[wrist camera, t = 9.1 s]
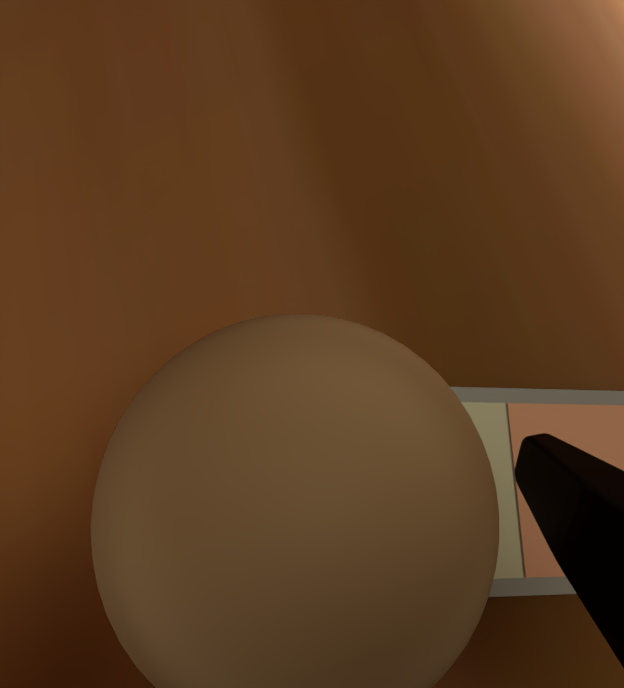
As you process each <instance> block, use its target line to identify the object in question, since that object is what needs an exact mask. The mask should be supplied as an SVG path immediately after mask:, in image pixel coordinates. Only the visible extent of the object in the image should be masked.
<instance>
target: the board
mask: <svg viewBox="0 0 624 688" xmlns="http://www.w3.org/2000/svg"><path fill="white" fill-rule="evenodd" d="M450 388H451V389H452V390H453V392H454V393H455V394H456V395H457V397H458V398H459V400H460V401H461V403H462V404H463V406H464V408H465V409H466V411H467V412H468V414H469V415H470V417H471V419H472V421H473V423H474V425H475V427H476V429H477V431H478V433H479V435H480V437H481V439H482V442H483V444H484V447H485V450H486V453H487V456H488V458H489V461H490V464H491V468H492V473H493V477H494V481H495V485H496V491H497V499H498V508H499V547H498V556H497V564H496V570H495V574H494V578H493V582H492V586H491V591H490V595H489V597H504V596H531V595H558V594H577V593H576V592H575V590H574V589H573V587H572V585H571V584H570V582H569V581H568V579H567V578H566V576H565V574H564V573H563V571H562V569H561V568H560V566H559V564H558V563H557V561H556V559H555V557H554V556H553V554H552V552H551V550H550V548H549V546H548V544H547V542H546V540H545V538H544V536H543V534H542V532H541V530H540V528H539V526H538V524H537V522H536V520H535V518H534V516H533V514H532V513H531V511H530V509H529V507H528V505H527V503H526V501H525V499H524V497H523V495H522V493H521V491H520V489H519V487H518V485H517V482H516V479H515V474H514V469H515V465H516V461H517V457H518V453H519V449H520V445H521V442H522V440H523V439H524V438H525V437H527V436H531V435H536V434H541V433H547V434H550V435H552V436H554V437H556V438H558V439H561V440H563V441H565V442H567V443H569V444H571V445H573V446H575V447H577V448H579V449H581V450H583V451H585V452H587V453H589V454H591V455H593V456H595V457H597V458H599V459H601V460H603V461H605V462H607V463H609V464H611V465H613V466H615V467H617V468H619V469H621V470H623V471H624V391H598V390H557V389H517V388H476V387H450Z"/></svg>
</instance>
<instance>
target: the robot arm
mask: <svg viewBox="0 0 624 688" xmlns="http://www.w3.org/2000/svg"><path fill="white" fill-rule="evenodd" d="M514 474H515V479H516V482H517V485H518V487H519V489H520V491H521V493H522V495H523V497H524V499H525V501H526V503H527V505H528V507H529V509H530V511H531V513H532V514H533V516H534V518H535V520H536V522H537V524H538V526H539V528H540V530H541V532H542V534H543V536H544V538H545V540H546V542H547V544H548V546H549V548H550V550H551V552H552V554H553V556H554V557H555V559H556V561H557V563H558V564H559V566H560V568H561V569H562V571H563V573H564V574H565V576H566V578H567V579H568V581H569V582H570V584H571V585H572V587H573V589H574V590H575V592H576V593H577V595H578V597H579V598H580V600H581V601H582V603H583V604H584V606H585V608H586V609H587V611H588V612H589V614H590V616H591V617H592V619H593V620H594V622H595V623H596V625H597V627H598V628H599V630H600V631H601V633H602V635H603V636H604V638H605V639H606V641H607V642H608V644H609V646H610V647H611V649H612V650H613V652H614V654H615V655H616V657H617V658H618V660H619V661H620V663H621V665H622V666H623V668H624V471H623V470H621V469H619V468H617V467H615V466H613V465H611V464H609V463H607V462H605V461H603V460H601V459H599V458H597V457H595V456H593V455H591V454H589V453H587V452H585V451H583V450H581V449H579V448H577V447H575V446H573V445H571V444H569V443H567V442H565V441H563V440H561V439H558V438H556V437H554V436H552V435H550V434H547V433H541V434H536V435H531V436H527V437H525V438H524V439H523V440H522V442H521V445H520V449H519V453H518V457H517V461H516V465H515V469H514Z"/></svg>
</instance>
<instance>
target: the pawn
mask: <svg viewBox="0 0 624 688" xmlns="http://www.w3.org/2000/svg"><path fill="white" fill-rule="evenodd" d="M91 547H92V560H93V566H94V571H95V577H96V582H97V587H98V590H99V593H100V596H101V600H102V603H103V606H104V609H105V612H106V615H107V617H108V619H109V621H110V623H111V625H112V627H113V629H114V631H115V634H116V636H117V638H118V640H119V642H120V644H121V645H122V646H123V648H124V649H125V651H126V652H127V654H128V655H129V657H130V658H131V660H132V661H133V663H134V664H135V666H136V667H137V668H138V669H139V671H140V672H141V673H142V674H143V675H144V676H145V677H146V678H147V679H148V680H149V681H150V682H151V684H152V685H153V686H154V687H155V688H433V686H434V685H435V684H436V683H437V682H438V681H439V680H440V679H441V678H442V677H443V676H444V674H445V673H446V672H447V671H448V670H449V669H450V668H451V667H452V665H453V664H454V662H455V661H456V660H457V658H458V657H459V655H460V654H461V652H462V651H463V650H464V648H465V647H466V645H467V644H468V642H469V640H470V638H471V636H472V634H473V632H474V630H475V628H476V627H477V625H478V623H479V621H480V618H481V616H482V613H483V610H484V608H485V605H486V603H487V600H488V597H489V595H490V591H491V586H492V582H493V578H494V574H495V570H496V564H497V556H498V547H499V508H498V499H497V491H496V485H495V481H494V477H493V473H492V468H491V464H490V461H489V458H488V456H487V453H486V450H485V447H484V444H483V442H482V439H481V437H480V435H479V433H478V431H477V429H476V427H475V425H474V423H473V421H472V419H471V417H470V415H469V414H468V412H467V411H466V409H465V408H464V406H463V404H462V403H461V401H460V400H459V398H458V397H457V395H456V394H455V393H454V392H453V390H452V389H451V388H450V387H449V386H448V384H447V383H446V382H445V381H444V380H443V378H442V377H441V376H440V375H439V374H438V373H437V372H436V371H435V370H434V369H433V368H432V367H431V366H429V365H428V364H427V363H426V362H425V361H424V360H423V359H422V358H420V357H419V356H418V355H416V354H415V353H414V352H412V351H411V350H410V349H408V348H407V347H406V346H404V345H403V344H401V343H399V342H397V341H396V340H394V339H392V338H390V337H389V336H387V335H385V334H383V333H381V332H379V331H376V330H374V329H371V328H369V327H367V326H364V325H362V324H359V323H355V322H351V321H348V320H344V319H341V318H336V317H329V316H322V315H316V314H282V315H272V316H263V317H259V318H255V319H250V320H246V321H242V322H239V323H236V324H233V325H231V326H228V327H225V328H222V329H220V330H217V331H215V332H213V333H211V334H209V335H208V336H206V337H204V338H202V339H200V340H198V341H196V342H194V343H193V344H191V345H190V346H189V347H187V348H186V349H184V350H183V351H181V352H180V353H178V354H177V355H176V356H174V357H173V358H172V359H171V360H170V361H168V362H167V363H166V364H165V365H164V366H163V367H162V368H161V369H160V370H158V371H157V372H156V373H155V374H154V375H153V376H152V377H151V379H150V380H149V381H148V382H147V383H146V384H145V385H144V387H143V388H142V389H141V390H140V391H139V392H138V393H137V395H136V396H135V398H134V399H133V401H132V402H131V404H130V405H129V407H128V408H127V410H126V411H125V413H124V414H123V416H122V417H121V419H120V421H119V423H118V425H117V427H116V429H115V431H114V433H113V435H112V437H111V439H110V441H109V443H108V446H107V449H106V452H105V454H104V457H103V460H102V463H101V466H100V468H99V473H98V477H97V482H96V487H95V491H94V496H93V505H92V516H91Z"/></svg>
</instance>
